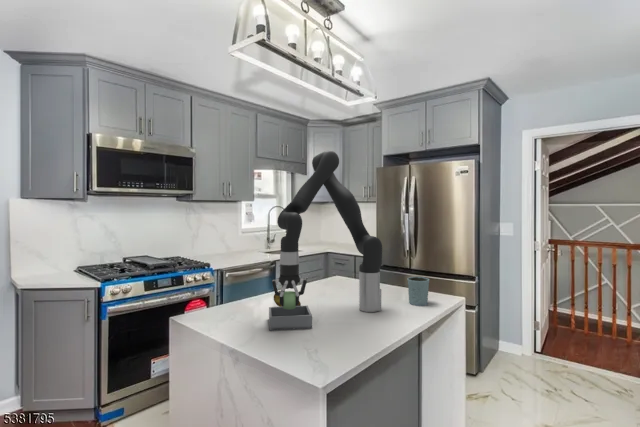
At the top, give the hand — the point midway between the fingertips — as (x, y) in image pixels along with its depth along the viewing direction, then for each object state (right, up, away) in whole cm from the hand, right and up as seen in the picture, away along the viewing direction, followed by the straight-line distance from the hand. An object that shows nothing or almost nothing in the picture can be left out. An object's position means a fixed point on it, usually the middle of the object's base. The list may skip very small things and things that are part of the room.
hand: (289, 305), depth 143 cm
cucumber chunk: (0, -1, 0) cm, 1 cm away
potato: (-3, -7, +20) cm, 21 cm away
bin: (0, -7, 0) cm, 7 cm away
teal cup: (+59, -7, +30) cm, 67 cm away
